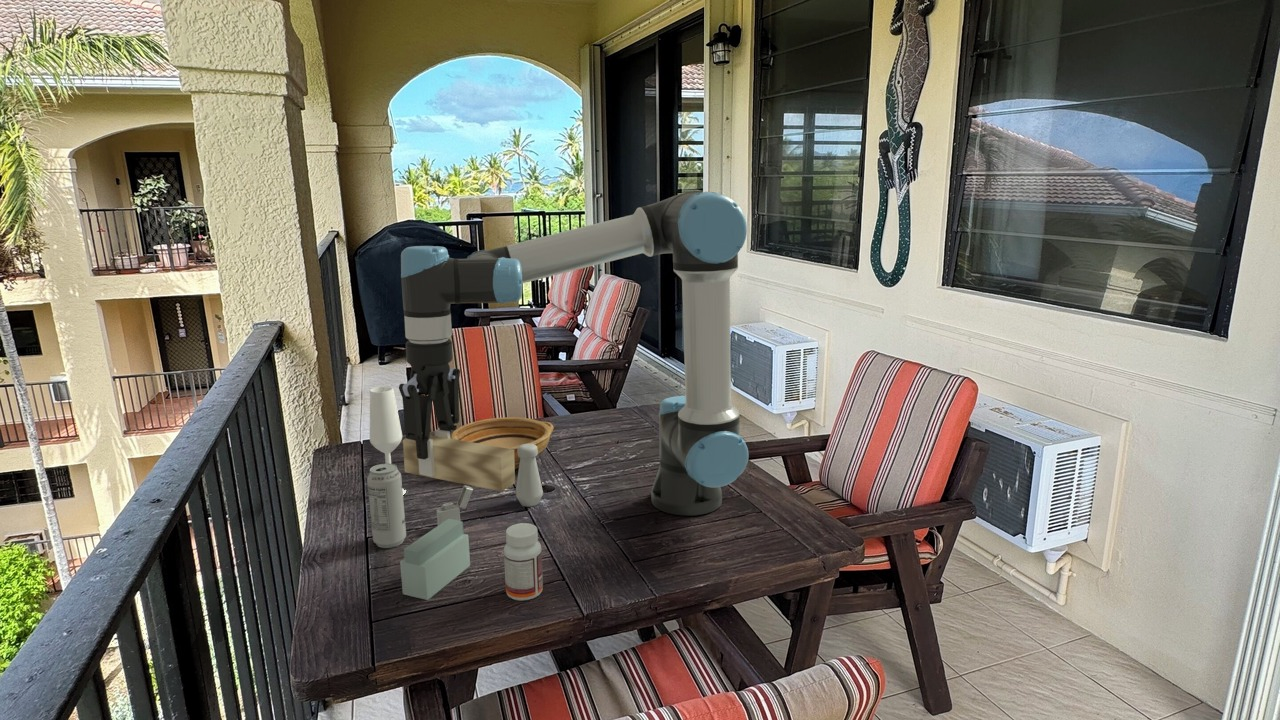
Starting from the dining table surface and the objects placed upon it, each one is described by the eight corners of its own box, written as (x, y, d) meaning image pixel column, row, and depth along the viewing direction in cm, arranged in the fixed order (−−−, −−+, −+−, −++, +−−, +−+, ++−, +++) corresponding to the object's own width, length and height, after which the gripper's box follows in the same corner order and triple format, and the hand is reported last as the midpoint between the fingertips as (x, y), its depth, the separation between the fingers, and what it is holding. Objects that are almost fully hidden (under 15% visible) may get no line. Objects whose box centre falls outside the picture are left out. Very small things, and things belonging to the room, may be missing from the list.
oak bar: (514, 482, 123) (514, 449, 122) (501, 491, 119) (501, 457, 118) (419, 464, 130) (418, 433, 129) (404, 472, 127) (402, 439, 125)
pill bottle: (527, 578, 125) (524, 517, 122) (550, 591, 121) (548, 529, 118) (498, 592, 120) (494, 530, 118) (521, 606, 116) (518, 542, 114)
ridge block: (470, 565, 129) (467, 522, 127) (427, 600, 118) (423, 553, 116) (446, 560, 131) (443, 517, 129) (402, 594, 120) (398, 548, 118)
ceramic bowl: (477, 494, 159) (475, 460, 157) (423, 465, 176) (421, 434, 174) (581, 460, 179) (580, 429, 177) (523, 437, 196) (522, 408, 194)
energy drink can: (412, 541, 138) (406, 467, 135) (383, 552, 134) (376, 477, 130) (396, 531, 142) (389, 459, 139) (367, 542, 138) (360, 468, 134)
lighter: (440, 532, 141) (438, 495, 140) (437, 529, 143) (434, 492, 141) (475, 523, 145) (472, 486, 143) (471, 520, 147) (469, 483, 145)
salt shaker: (538, 509, 151) (535, 451, 148) (512, 507, 152) (509, 449, 149) (547, 498, 157) (544, 441, 154) (522, 496, 158) (519, 440, 155)
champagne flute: (410, 496, 158) (401, 390, 153) (378, 502, 155) (368, 395, 150) (403, 485, 164) (394, 383, 158) (372, 491, 161) (362, 387, 155)
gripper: (442, 329, 130) (448, 451, 136) (374, 346, 115) (384, 484, 120) (477, 332, 128) (482, 457, 133) (412, 351, 112) (421, 491, 117)
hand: (435, 469), depth 127 cm, fingers closed on oak bar, 4 cm apart
